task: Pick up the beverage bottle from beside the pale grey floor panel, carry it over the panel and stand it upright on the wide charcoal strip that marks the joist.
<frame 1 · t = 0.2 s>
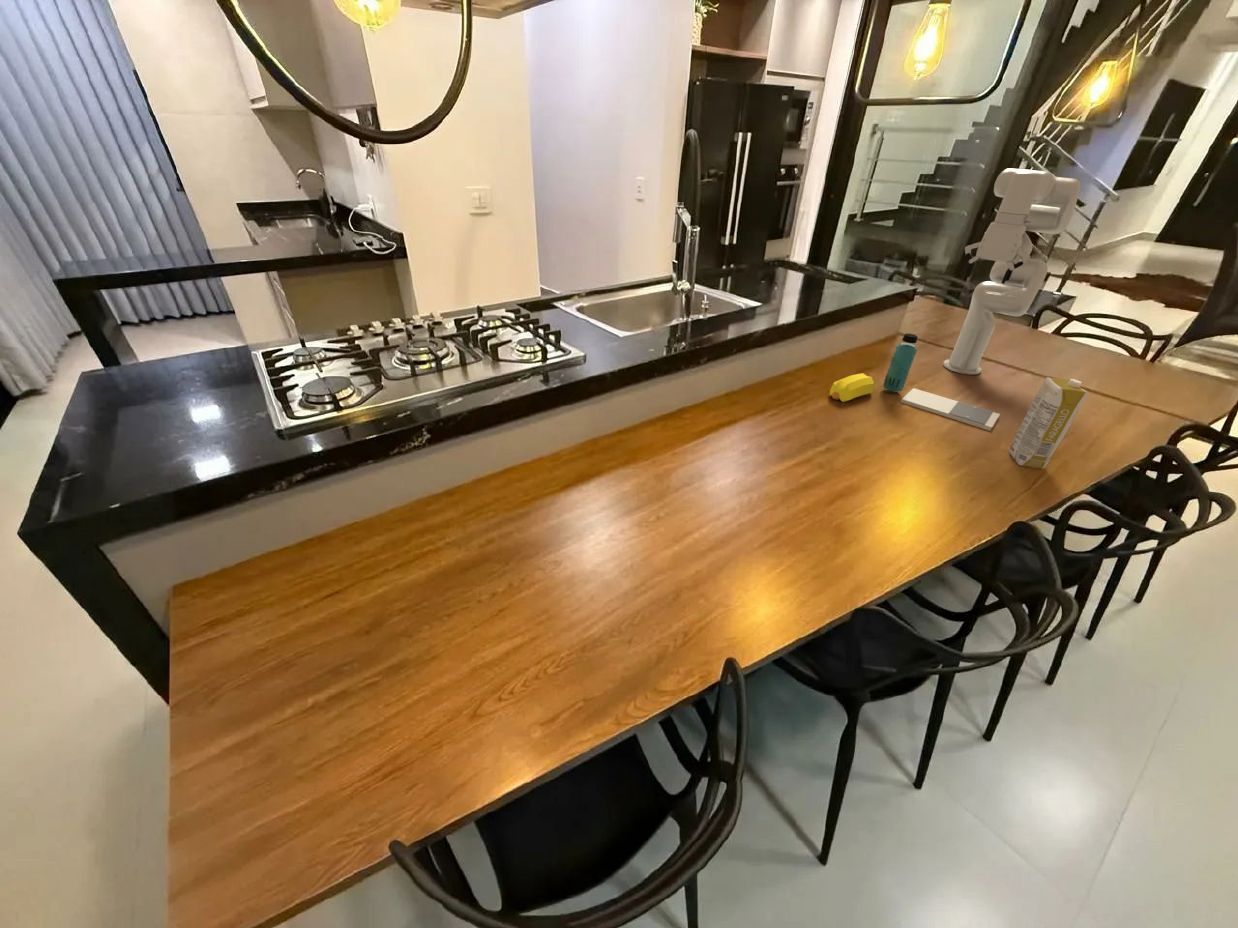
hand: (985, 279, 167), 37 cm above the table, tool pointing down, fingers open, 9 cm apart
juice carton: (1025, 461, 148), on the table
beverage bottle: (891, 392, 182), on the table
yellow faceted oblong part: (849, 396, 179), on the table
floor panel: (948, 409, 172), on the table
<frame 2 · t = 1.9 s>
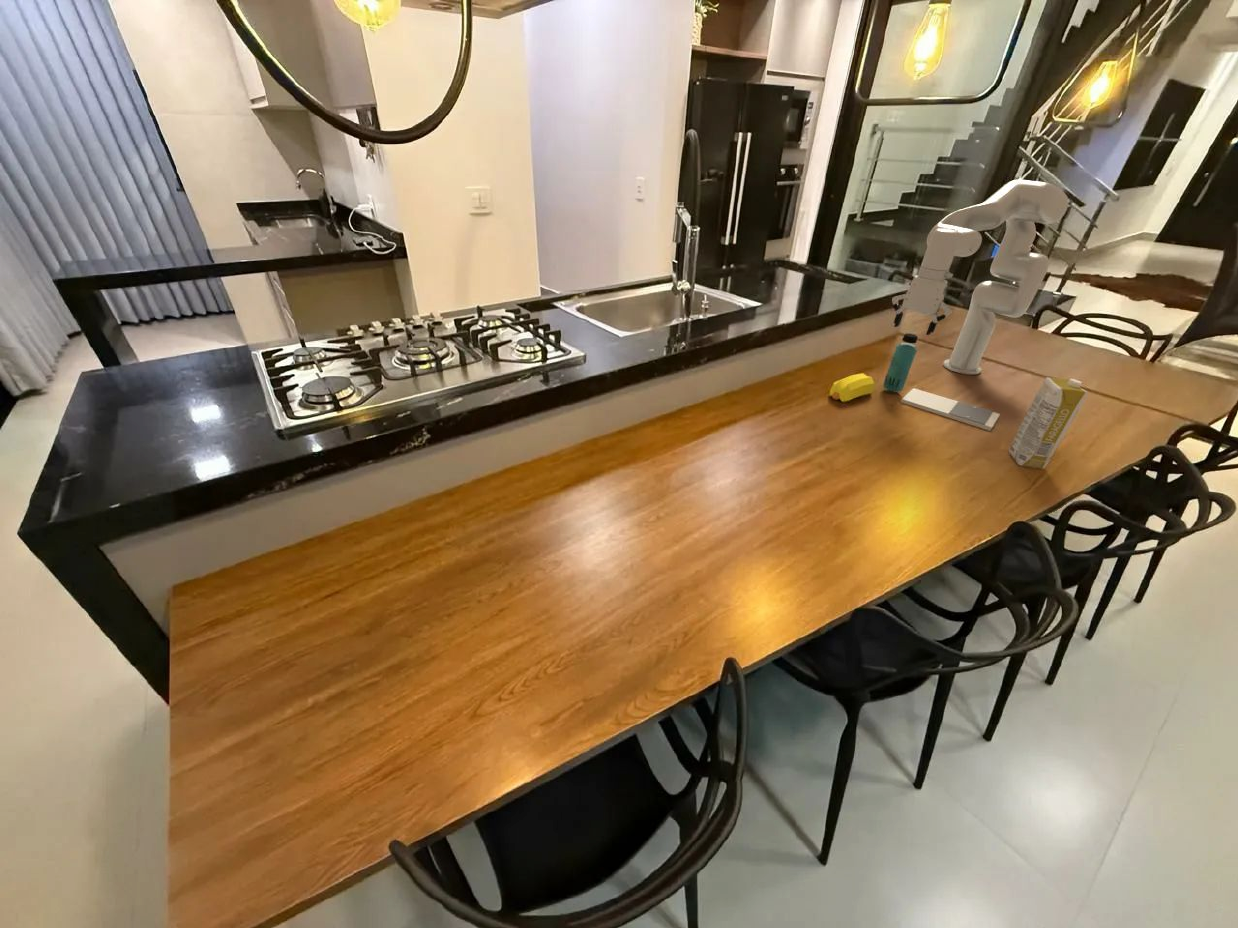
hand: (912, 330, 170), 22 cm above the table, tool pointing down, fingers open, 9 cm apart
nothing on the table moved.
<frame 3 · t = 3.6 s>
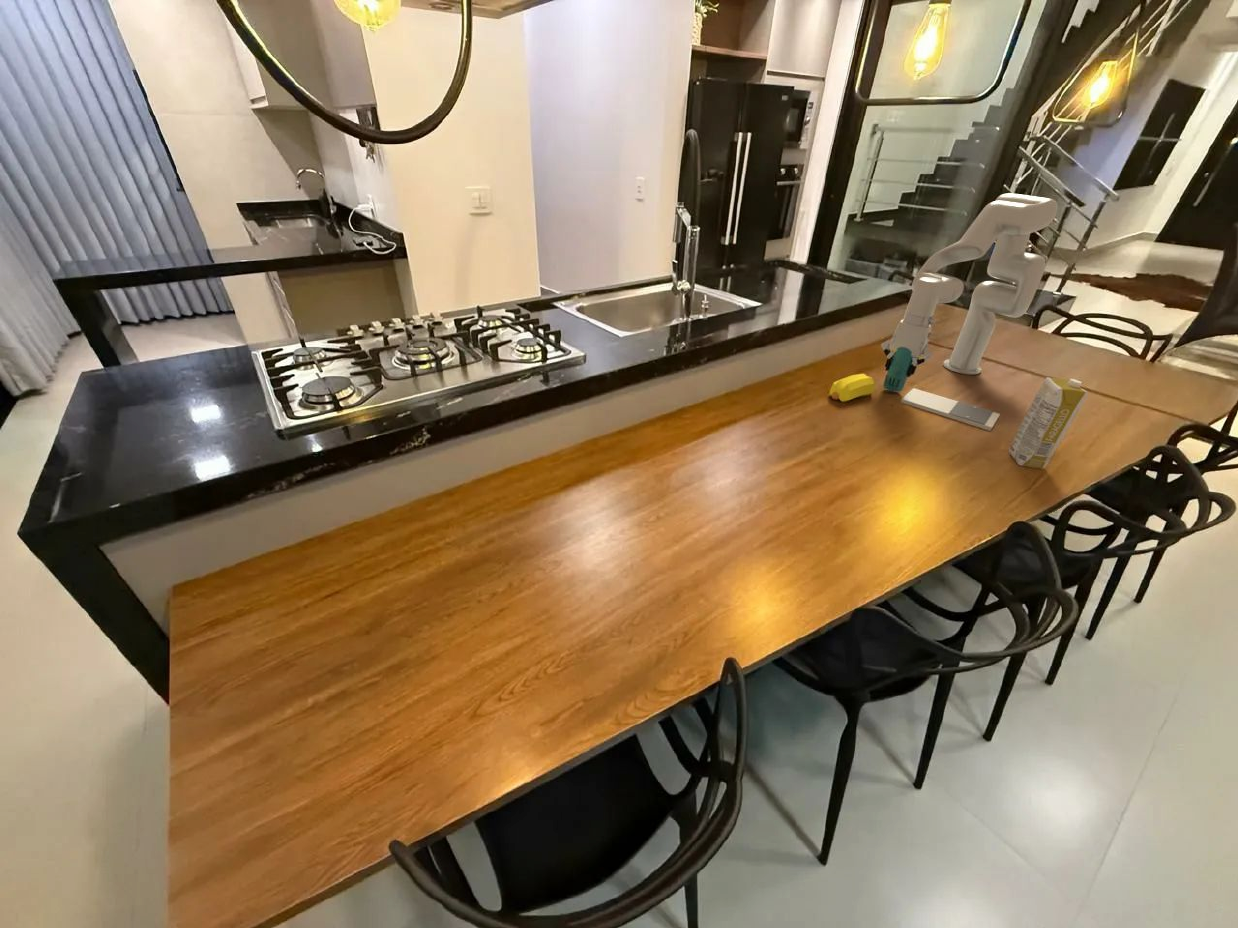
hand: (898, 372, 178), 7 cm above the table, tool pointing down, fingers closed on beverage bottle, 6 cm apart
beverage bottle: (891, 392, 182), on the table, touching gripper
everything else where it was.
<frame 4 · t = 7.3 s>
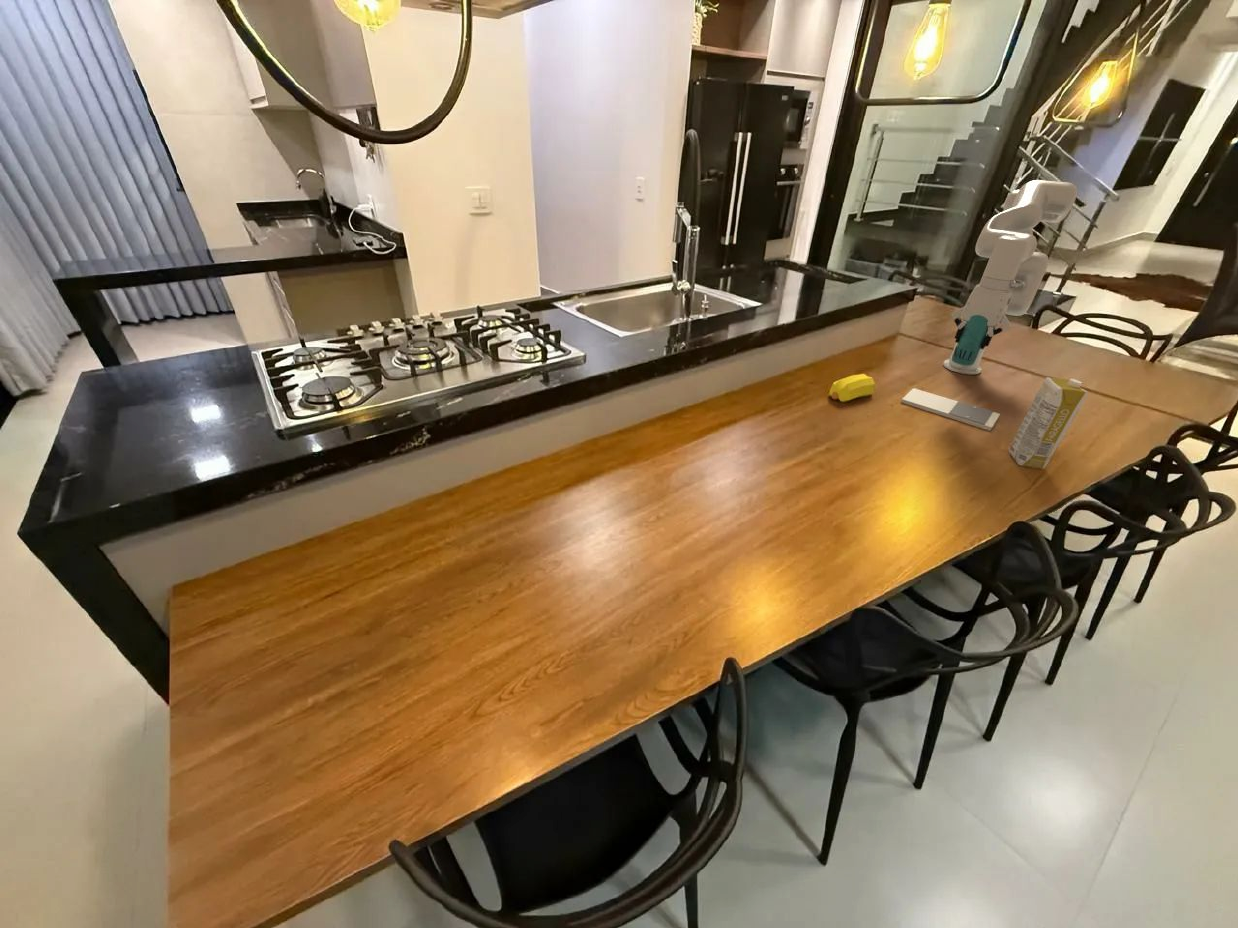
hand: (970, 344, 161), 21 cm above the table, tool pointing down, fingers closed on beverage bottle, 6 cm apart
beverage bottle: (960, 367, 166), point 14 cm above the table, touching gripper
everything else where it was.
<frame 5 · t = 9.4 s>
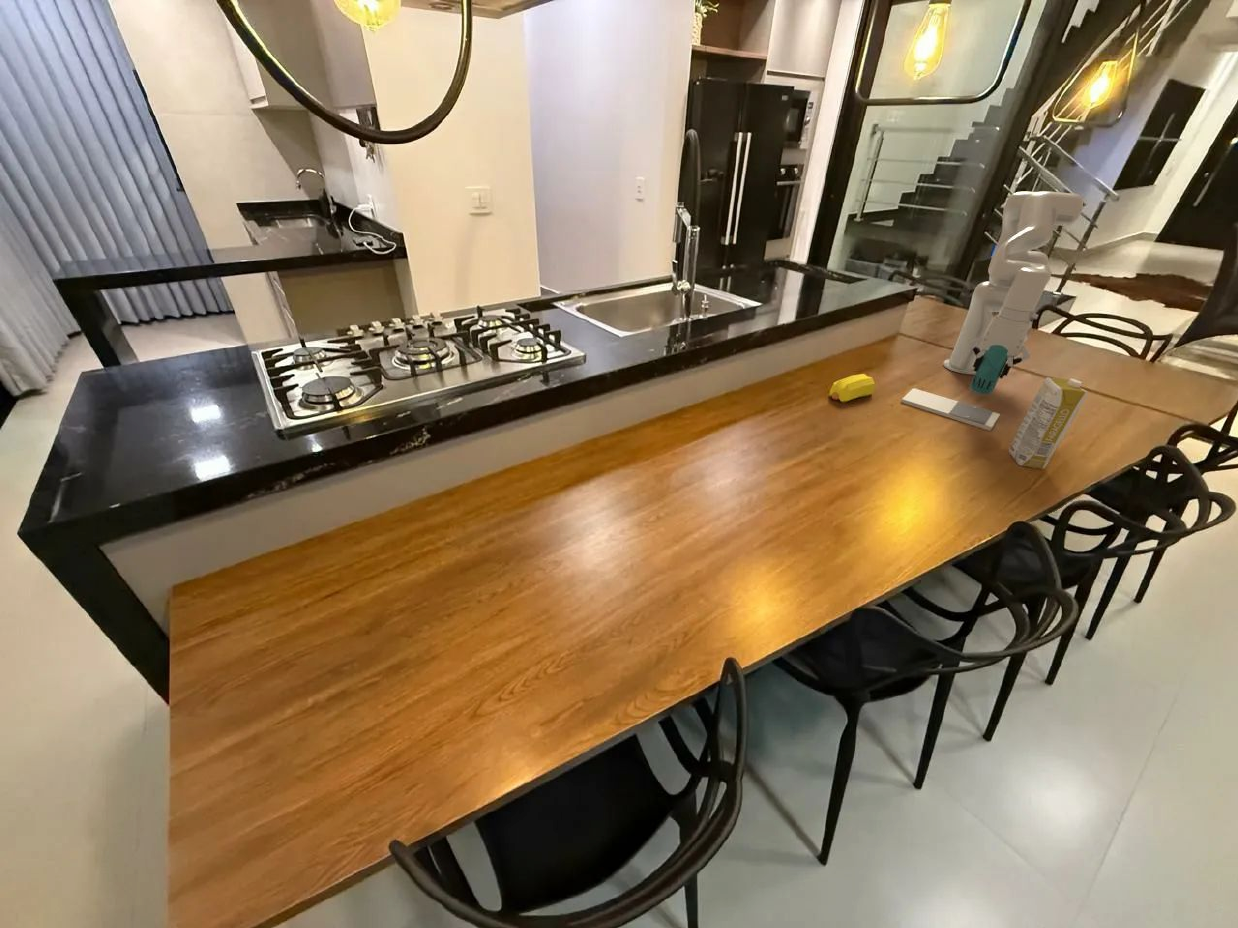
hand: (988, 373, 161), 15 cm above the table, tool pointing down, fingers closed on beverage bottle, 6 cm apart
beverage bottle: (978, 395, 165), point 7 cm above the table, touching gripper
everything else where it was.
when the fingers open (10 cm above the table, at t = 10.9 s): beverage bottle drops 1 cm, resting on floor panel.
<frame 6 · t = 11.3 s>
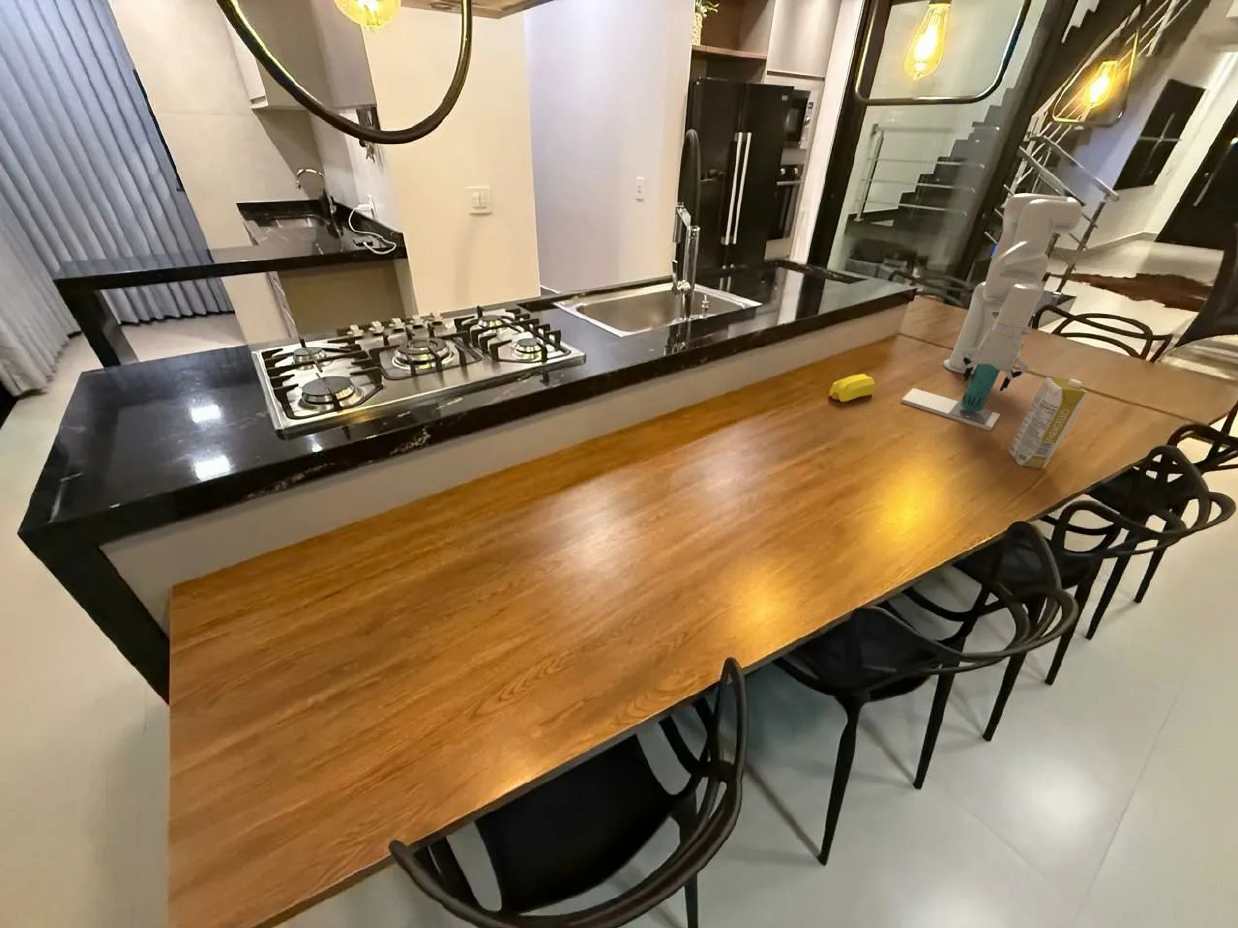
hand: (983, 384, 163), 11 cm above the table, tool pointing down, fingers open, 9 cm apart
beverage bottle: (968, 411, 169), point 1 cm above the table, touching floor panel
everything else where it was.
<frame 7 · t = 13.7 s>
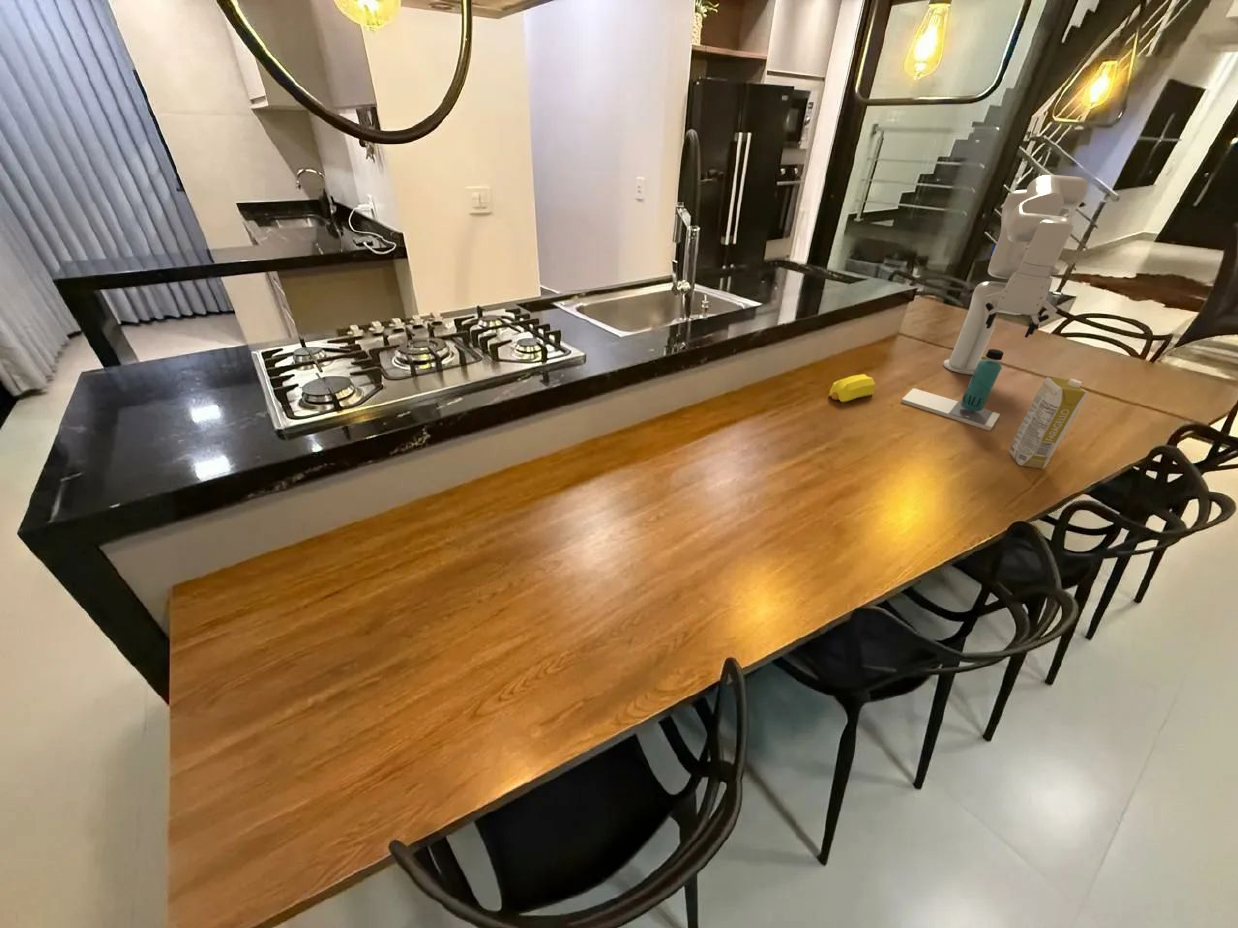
hand: (1007, 331, 154), 27 cm above the table, tool pointing down, fingers open, 9 cm apart
nothing on the table moved.
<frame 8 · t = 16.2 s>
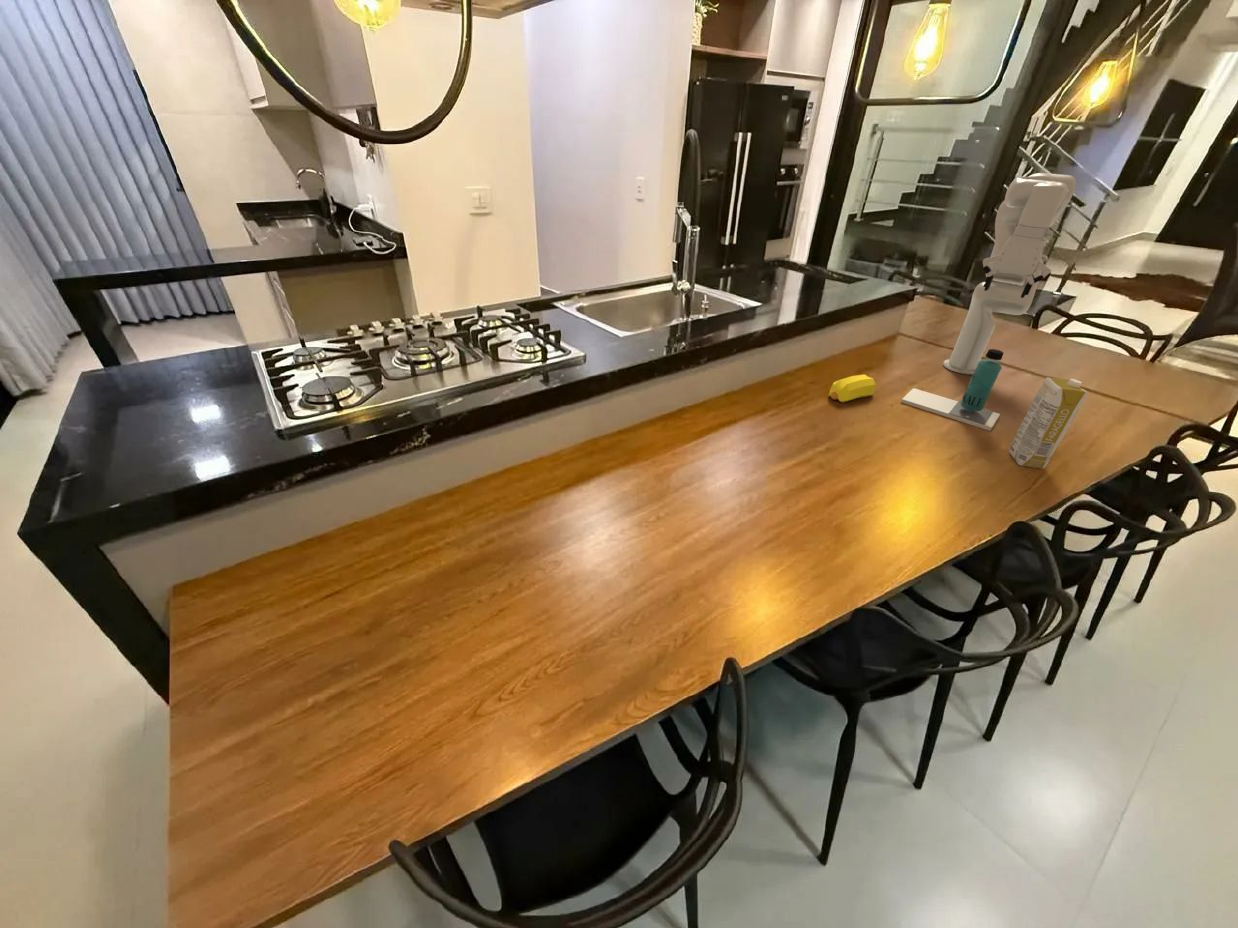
hand: (1004, 293, 162), 34 cm above the table, tool pointing down, fingers open, 9 cm apart
nothing on the table moved.
at the end: beverage bottle inside the target area on the floor panel (0.6 cm from its centre), point 1.2 cm above the floor panel's base; beverage bottle tilted 0°; the gripper is holding nothing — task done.
